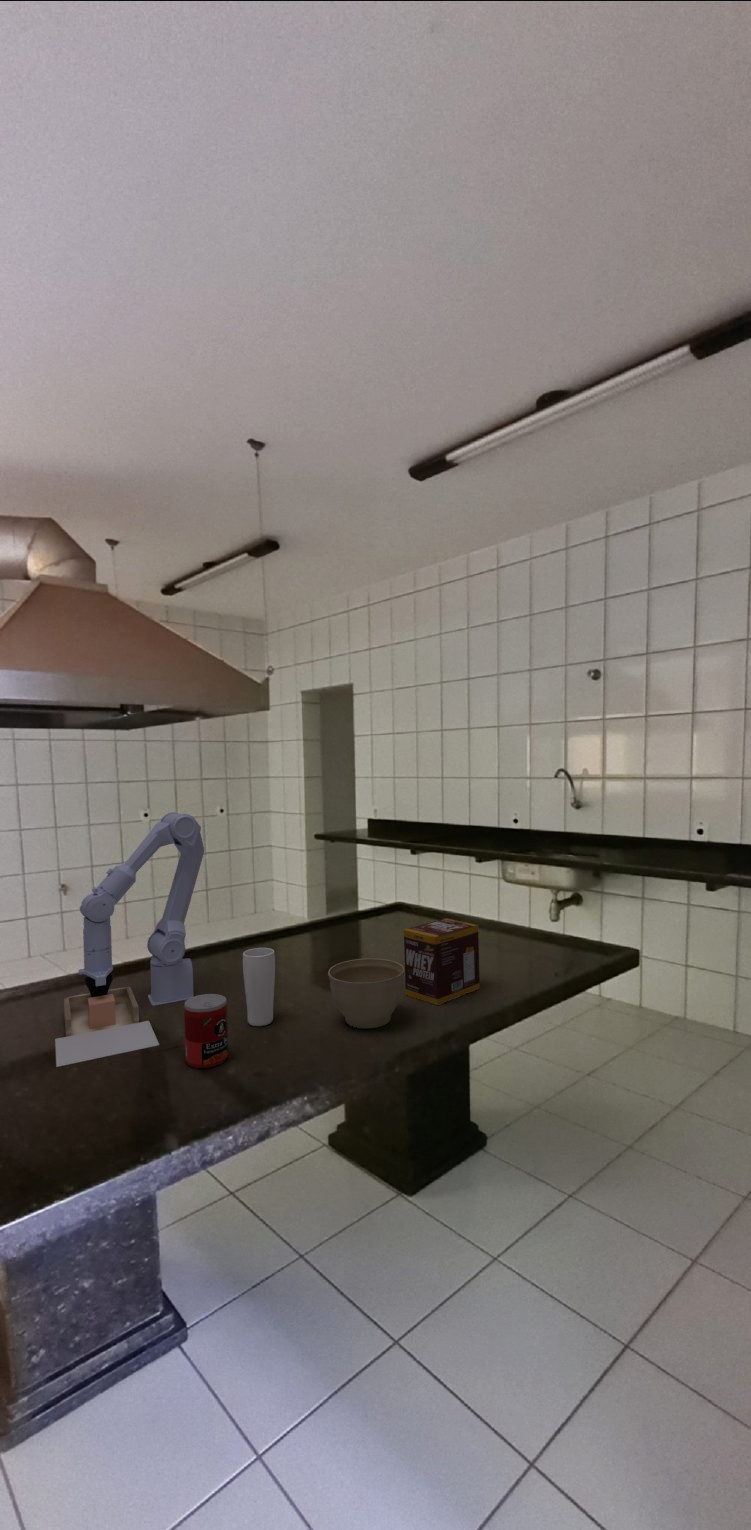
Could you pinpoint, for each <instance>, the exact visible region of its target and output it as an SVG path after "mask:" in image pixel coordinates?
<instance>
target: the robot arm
mask: <svg viewBox="0 0 751 1530" xmlns="http://www.w3.org/2000/svg"><path fill="white" fill-rule="evenodd" d="M201 829H202V826H201V825H200V824H199V822H198V821H197V819H196V818H195V817H194V816H193V815H191V814H189V813H179V812H168V813H166V814H164V815H163V816H162V818H161V820H160V821H158V822H156V824H154V826H152V828H151V830H150V831H149V833H148V834H147V835H146V836H145V837H144V839H143V840H142V841H141V842H140V844H139V845H138V846H137V847H136V849H135V850H134V851H133V853H132V854H131V855H130V856H129V858H128V859H127V860H126V862H125V863H124V864H120V865H115V866H114V867H113V868H109V869H108V870H107V871H106V874H107V875H106V877H105V878H104V879H103V880H101V882H100V883H99V884H98V886H94V887H93V888H92V889H91V891H92V893H90V894H88V895H86V896H85V897H84V898H83V899H82V900H81V905H80V906H79V911H80V913H81V915H82V916H84V917H83V929H82V931H83V940H82V941H83V967H84V968H80V969H78V975H85V976H86V977H84V984H85V986H86V987H87V989H88V991H89V993H90V994H91V998H92V997H97V996H103V995H107V993H108V990H110V987H111V985H112V983H113V979H114V977H113V974H112V971H113V970H114V965H113V956H112V955H113V954H112V953H113V950H112V949H113V946H112V925H111V917H112V916H113V914H114V912H115V905H117V904H118V903H119V902H120V901H121V899H122V898H123V897H124V896H125V895H126V894H127V892H128V891H129V890H130V888H131V887H132V886H133V885H134V884H135V883H136V880H137V873H138V871H140V869H141V868H142V867H144V865H145V864H146V863H147V862H148V861H149V859H151V858H152V856H154V854H155V853H156V852H158V850H159V849H160V848H162V847H165V846H169V845H173V844H174V846H175V847H176V849H177V851H178V852H179V853H180V855H179V859H178V862H177V865H176V869H175V873H174V876H173V879H172V883H171V886H170V890H169V894H168V896H167V900H166V903H165V907H164V911H163V913H162V917H161V919H160V920H159V921H158V922H157V924H156V925H155V928H154V931H153V932H152V934H150V936H149V937H148V940H147V944H146V946H147V947H146V948H147V950H148V952H149V953H150V954H151V956H152V957H151V959H150V992H151V993H150V994H148V995H147V998H148V999H149V1003H150V1004H151V1006H157V1005H158V1006H159V1005H164V1004H169V1003H175V1002H180V1001H186V1000H188V999H189V998H192V997H194V970H193V963H192V959H191V958H183V957H184V956H185V954H186V945H185V944H186V943H185V940H186V935H187V934H186V933H187V932H186V927H185V922H186V918H187V914H188V911H189V908H190V904H191V901H192V896H193V893H194V890H195V886H196V882H197V879H198V875H199V873H200V872H199V871H200V868H201V865H202V861H203V858H204V853H205V847H204V842H203V838H202V835H201V834H202V833H201Z"/></svg>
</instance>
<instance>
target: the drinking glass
mask: <svg viewBox="0 0 751 1530" xmlns="http://www.w3.org/2000/svg"><path fill="white" fill-rule="evenodd" d="M242 973H243V974H242V975H243V976H242V977H243V984H244V985H243V986H244V993H245V1001H246V1002H245V1003H246V1010H247V1011H246V1012H247V1022H248V1024H249V1025H250V1026H252V1027H263V1026H267V1025H270V1024H271V1023H272V1022H273V1020H274V995H275V994H274V993H275V983H276V982H275V979H276V956H275V950H274V949H272V948H269V947H257V948H256V947H255V948H251V949H247V950H245V951H243V953H242Z"/></svg>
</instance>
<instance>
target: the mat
mask: <svg viewBox="0 0 751 1530" xmlns="http://www.w3.org/2000/svg"><path fill="white" fill-rule="evenodd" d="M54 1040H55V1043H54V1044H55V1065H56V1066H55V1067H56V1068H59V1067H62V1066H67V1065H68V1066H69V1065H72V1064H76V1063H83V1062H87V1061H91V1060H96V1059H100V1058H105V1057H111V1056H115V1055H118V1054H123V1053H124V1054H125V1053H129V1052H134V1051H139V1050H143V1049H147V1048H152V1047H157V1046H160V1043H159V1041H158V1039H157V1036H156V1034H155V1032H154V1030H153V1028H152V1024H151V1023H150V1020H146V1021H141V1022H140V1021H139V1023H134V1024H129V1025H124V1026H119V1027H114V1028H109V1029H103V1030H98V1031H93V1032H88V1033H83V1034H78V1035H73V1036H68V1037H66V1036H64V1037H58V1038H57V1037H56V1038H55V1039H54Z"/></svg>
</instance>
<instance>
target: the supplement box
mask: <svg viewBox="0 0 751 1530" xmlns="http://www.w3.org/2000/svg"><path fill="white" fill-rule="evenodd" d="M479 941H480V940H479V925H478V924H474V923H469V922H465V921H461V920H456V919H451V918H441V919H439V920H435V921H431V922H427V923H425V924H424V923H423V924H419V925H415V926H413V927H408V928H405V929H403V942H404V943H403V947H404V949H403V950H404V979H405V980H404V981H405V996H407V995H408V997H411V998H414V999H416V998H417V999H416V1000H419V999H421V1000H420V1001H422V1000H423V1001H422V1002H425V1001H428V1002H431V1003H433V1004H441V1003H443V1002H445V1001H448V1000H450V999H452V998H455V997H457V996H459V995H463V994H465V993H466V992H470V991H472V990H474V989H478V988H480V987H481V982H480V978H481V977H480V945H479V944H480V942H479ZM480 989H481V988H480ZM428 1002H427V1003H428ZM431 1003H430V1004H431ZM433 1004H432V1005H433Z"/></svg>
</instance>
